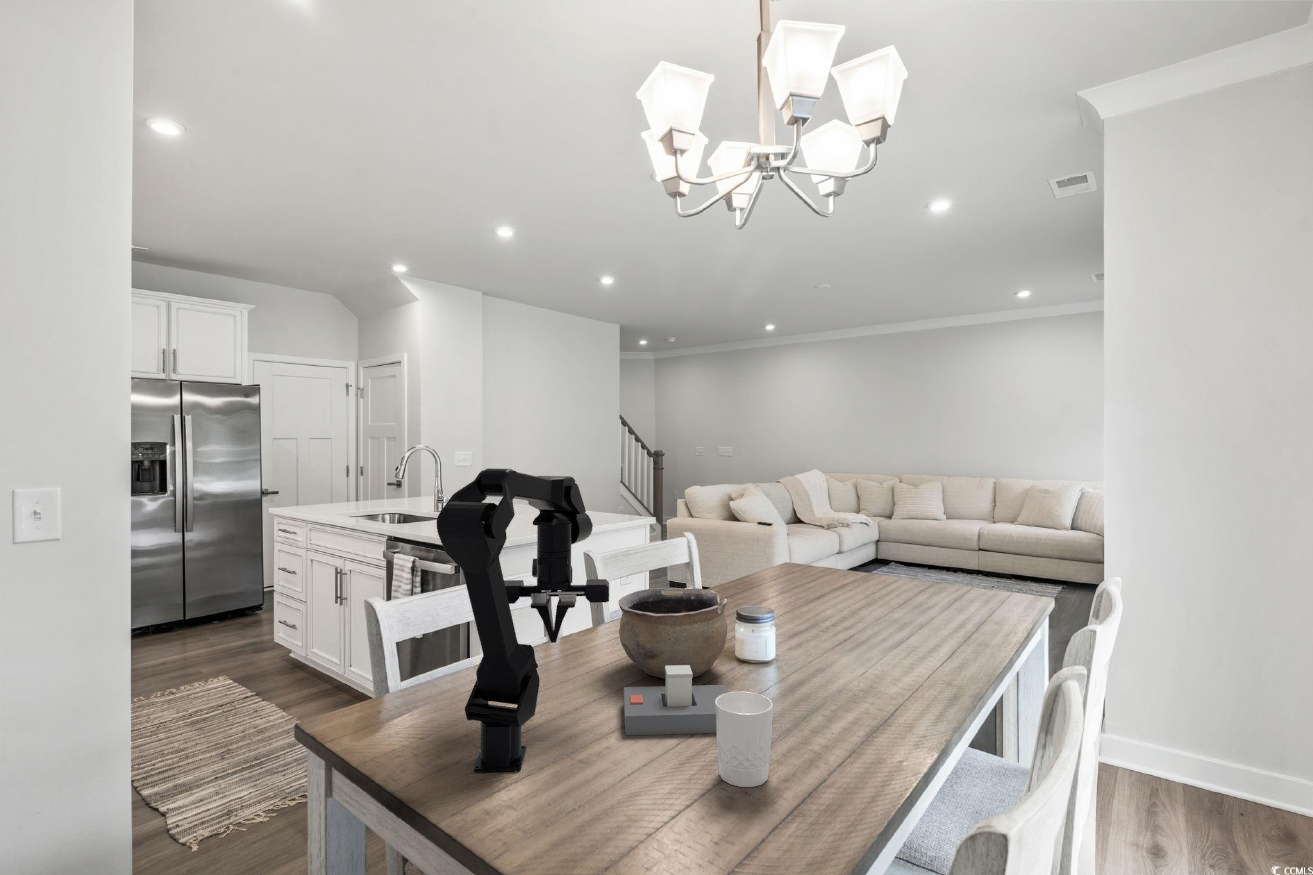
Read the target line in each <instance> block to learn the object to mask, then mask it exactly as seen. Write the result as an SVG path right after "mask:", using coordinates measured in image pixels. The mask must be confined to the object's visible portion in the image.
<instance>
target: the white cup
mask: <svg viewBox="0 0 1313 875" xmlns="http://www.w3.org/2000/svg"><path fill="white" fill-rule="evenodd" d="M773 706H774V705H773V701H772V700H771V699H769V698H768V697H767V696H764V695H762V694H760V693H756V692H751V691H729V693H725V694H722V695H720V696H718V697H717V698H716V700H715V710H716V733H715V734H716V746H717V747H716V748H717V750H716V751H717V756H718V758H717V759H718V774H719V776H720V777H721V780H722V781H724V782H726V783H727V784H729V785H732V786H735V787H740V788H754V787H757V786H758V787H759V786H762V785H764V783H766V782H767V781H768V778H769V764H770V758H771V747H772V745H771V744H772V742H771V741H772V733H773V732H772V729H773V728H772V727H773V712H774V711H773V710H774V709H773V708H774V707H773Z"/></svg>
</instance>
